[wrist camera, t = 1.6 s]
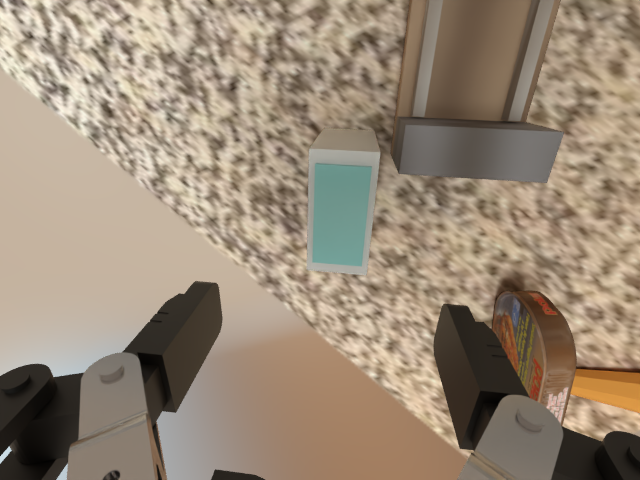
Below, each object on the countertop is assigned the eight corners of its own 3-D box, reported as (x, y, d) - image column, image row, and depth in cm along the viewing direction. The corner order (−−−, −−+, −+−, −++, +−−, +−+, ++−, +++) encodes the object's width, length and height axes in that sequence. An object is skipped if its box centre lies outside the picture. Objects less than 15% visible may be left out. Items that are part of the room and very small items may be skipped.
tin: (498, 273, 31) (542, 336, 23) (535, 271, 30) (593, 335, 23) (484, 389, 37) (516, 468, 29) (515, 389, 36) (555, 469, 29)
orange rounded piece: (674, 369, 34) (717, 390, 30) (666, 410, 35) (708, 437, 30) (470, 337, 38) (481, 352, 33) (465, 375, 38) (476, 395, 34)
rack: (579, -106, 19) (672, -184, 14) (505, 159, 26) (546, 182, 20) (422, -104, 20) (447, -178, 14) (390, 153, 27) (398, 174, 21)
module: (374, 130, 26) (380, 153, 18) (365, 222, 30) (366, 277, 22) (324, 127, 27) (308, 149, 18) (320, 219, 30) (306, 272, 22)
